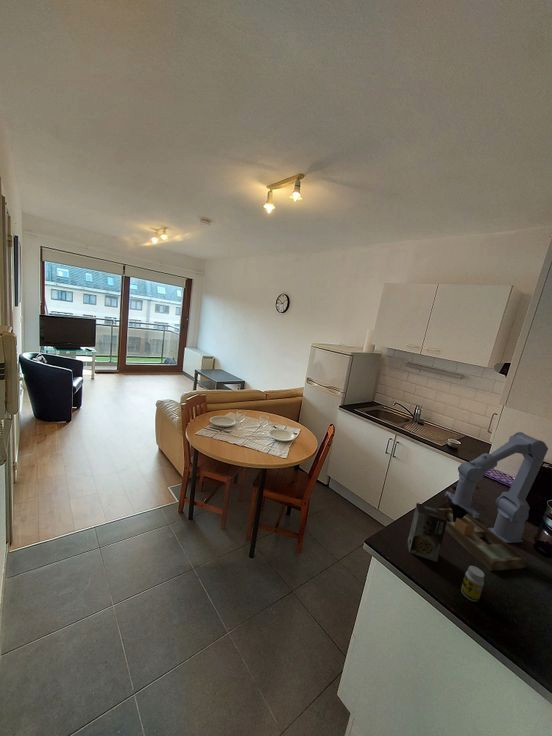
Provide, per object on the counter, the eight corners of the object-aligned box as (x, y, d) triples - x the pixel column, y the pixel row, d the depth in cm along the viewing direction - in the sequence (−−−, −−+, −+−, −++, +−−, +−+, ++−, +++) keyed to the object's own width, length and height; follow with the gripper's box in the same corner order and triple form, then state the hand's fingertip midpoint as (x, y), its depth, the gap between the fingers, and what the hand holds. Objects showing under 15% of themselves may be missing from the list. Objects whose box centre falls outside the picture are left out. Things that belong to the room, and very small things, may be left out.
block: (462, 526, 117) (465, 517, 116) (472, 534, 113) (475, 525, 112) (454, 527, 116) (456, 518, 115) (463, 535, 112) (466, 526, 111)
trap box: (458, 515, 129) (460, 508, 129) (524, 567, 102) (527, 558, 102) (429, 516, 125) (431, 508, 125) (490, 571, 98) (493, 561, 98)
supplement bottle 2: (456, 587, 89) (463, 563, 88) (470, 588, 90) (477, 564, 89) (468, 602, 85) (475, 577, 83) (482, 602, 85) (490, 578, 84)
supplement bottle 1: (462, 513, 131) (468, 491, 129) (448, 510, 132) (454, 488, 130) (456, 506, 137) (462, 484, 135) (443, 502, 138) (449, 481, 136)
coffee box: (433, 550, 104) (443, 510, 102) (437, 562, 98) (448, 521, 96) (406, 540, 107) (416, 501, 105) (408, 552, 101) (419, 511, 99)
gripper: (442, 482, 122) (434, 510, 124) (472, 503, 108) (463, 535, 110) (455, 482, 123) (447, 510, 125) (486, 503, 110) (477, 534, 112)
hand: (456, 522), depth 118 cm, fingers closed
